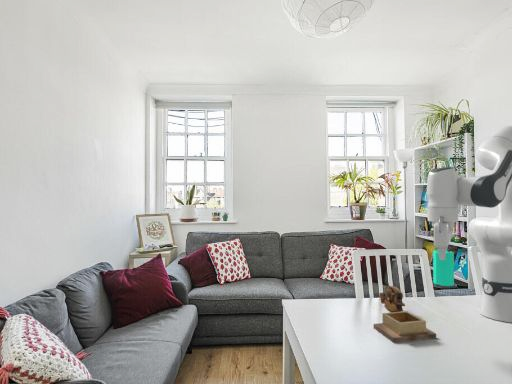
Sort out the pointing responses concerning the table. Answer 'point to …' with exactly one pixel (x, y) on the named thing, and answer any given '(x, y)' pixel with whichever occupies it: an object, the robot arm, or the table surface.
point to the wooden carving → (392, 299)
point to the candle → (443, 269)
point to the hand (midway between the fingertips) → (443, 258)
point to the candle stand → (403, 327)
